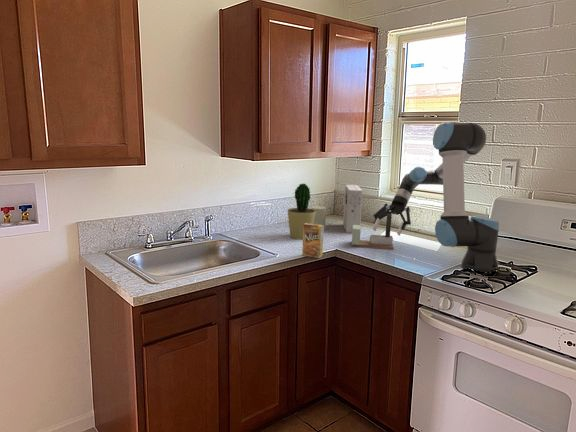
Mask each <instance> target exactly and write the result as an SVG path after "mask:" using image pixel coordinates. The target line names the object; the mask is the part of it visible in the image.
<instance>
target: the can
mask: <svg viewBox="0 0 576 432" xmlns="http://www.w3.org/2000/svg"><path fill="white" fill-rule="evenodd" d="M310 209H314V210H316V212H315V218H314V223H313V224H320V225H324V228H326V219H327V218H326V217H327V207H326V206H322V205H313V206H311V208H310Z"/></svg>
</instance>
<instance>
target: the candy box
mask: <svg viewBox="0 0 576 432" xmlns="http://www.w3.org/2000/svg"><path fill="white" fill-rule="evenodd" d="M324 229H325V227H324V225H320V224H311V223H305V224H304V227H303V239H302V249H301V250H302V251H301V255H302V256H303V257H304V256H305V257H311V258H316V259H320V258H322V257H323V249H324V248H323V247H324V245H323V244H324Z"/></svg>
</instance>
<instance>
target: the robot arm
mask: <svg viewBox="0 0 576 432" xmlns="http://www.w3.org/2000/svg"><path fill="white" fill-rule="evenodd" d="M486 142H487V134H486V131H485V130H484V127H482V126H481V125H480V124H477V123H475V122H452V121H449V122H448V121H447V122H441V123H440V124H438V126H437V127H436V128H435V130H434V132H433V137H432V145H433V147H434V149H436V150H438V155H439V156H440V157H441V158H442V163H441V164H439V166H437V168H436V169H425V168H424V167H422V166H416V167H414V168H413V169H411V171H409V173H406V174H404V177H402V180H401V182H400V185H399V187H398V189H397V190H396V192H395V195H394V197H393V199H392V200H391V204H388V203H385V204H383V206H382V207H381V208H380V209H378V211H377V212H376V213H374V214H373V217H374V221H373V226H372V229H373V232H376V231H377V229H378V227H379V225H380V222H381V220H382V219H384V218H385V217H387V214H392V215H399V216H400V218H401V219H402V221H401V223H400V225H399V228H398V229H397V231H396V233H397V235H398V237H399V236H401V234H402V232H403V231H404V230H405V229H406V227H407V225H409V226H411V224H412V223H411V214H410V213H411V208H410V207H409V206H407V205H408V202H409V200H410V198H411V196H412V194H413V192H414V191H415V189H416V188H417V187H418V186H420V185H433V186H434V185H436V186H437V185H438V186H440V185H441V186H442V187H443V189H442V190H443V191H442V192H443V196H442V197H443V213H441V215H440V216H439V217H440V218H439V220H437V221H436V223H435V226H434V232H435V236H436V239H437V241H438V242H439V243H440V244H441V245H442V246H443V247H452V248H455V247H457V248H458V247H467V249H466V252H465V254H464V255H463V257H462V260H461V265H462V266H461V265H460V266H461V268H463V267H464V268H470V269H473V270H476V271H480V272H490V271H492V270H494V269H497V268H498V269H499V262H498V259H497V254H496V253H497V244H498V236H499V232H500V223H499V222H498V220H496V219H493V218H490V217H487V216H481V215H472V216H470V217H469V214H468V212H466V209H465V206H466V204H465V203H466V202H465V172H464V171H465V170H464V169H465V168H464V164H465V163H467V161H468V160H469V159H470V158H471V157H472V156H475V155H478V154H479V153H480V152H481V151H482V150H483V148H484V147H485V146H486ZM403 212H405V213H406V218H405V216H404V214H403ZM464 268H463V269H464Z"/></svg>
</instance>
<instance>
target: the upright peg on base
mask: <svg viewBox="0 0 576 432" xmlns="http://www.w3.org/2000/svg"><path fill="white" fill-rule="evenodd" d="M392 215H393V214H387V216H386V223H385V234H384V235H385V237H390V236H391V229H392V227H391V226H392ZM368 241H369V242H371V235H370V236H369V239H368Z"/></svg>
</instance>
